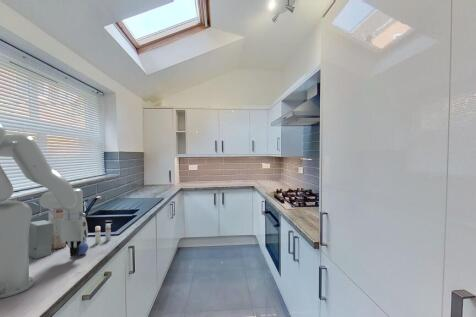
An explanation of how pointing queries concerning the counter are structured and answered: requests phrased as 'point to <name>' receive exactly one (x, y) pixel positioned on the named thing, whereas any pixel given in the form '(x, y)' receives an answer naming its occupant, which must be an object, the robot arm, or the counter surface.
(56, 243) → the cracker box
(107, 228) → the grey pin
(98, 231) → the cream pin
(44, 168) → the robot arm
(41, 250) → the skincare box
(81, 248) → the ball
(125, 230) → the counter surface
